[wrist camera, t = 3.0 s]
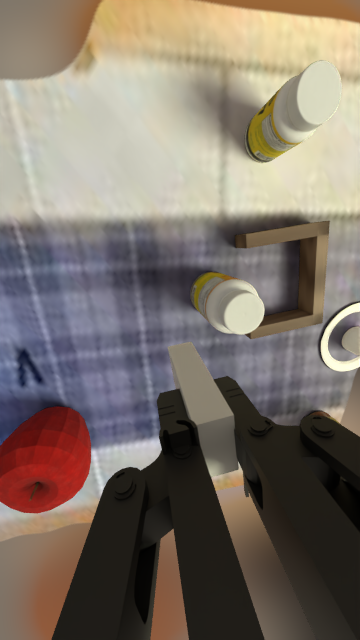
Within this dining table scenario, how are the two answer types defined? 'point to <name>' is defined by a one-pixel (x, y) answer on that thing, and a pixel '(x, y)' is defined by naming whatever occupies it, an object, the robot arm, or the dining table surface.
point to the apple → (45, 460)
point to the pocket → (309, 274)
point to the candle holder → (343, 342)
